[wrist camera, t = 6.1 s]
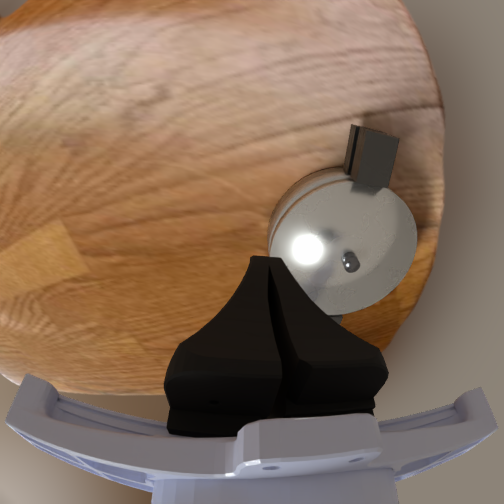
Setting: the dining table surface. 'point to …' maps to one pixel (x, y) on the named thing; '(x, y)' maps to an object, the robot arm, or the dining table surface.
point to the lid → (350, 233)
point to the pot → (313, 182)
